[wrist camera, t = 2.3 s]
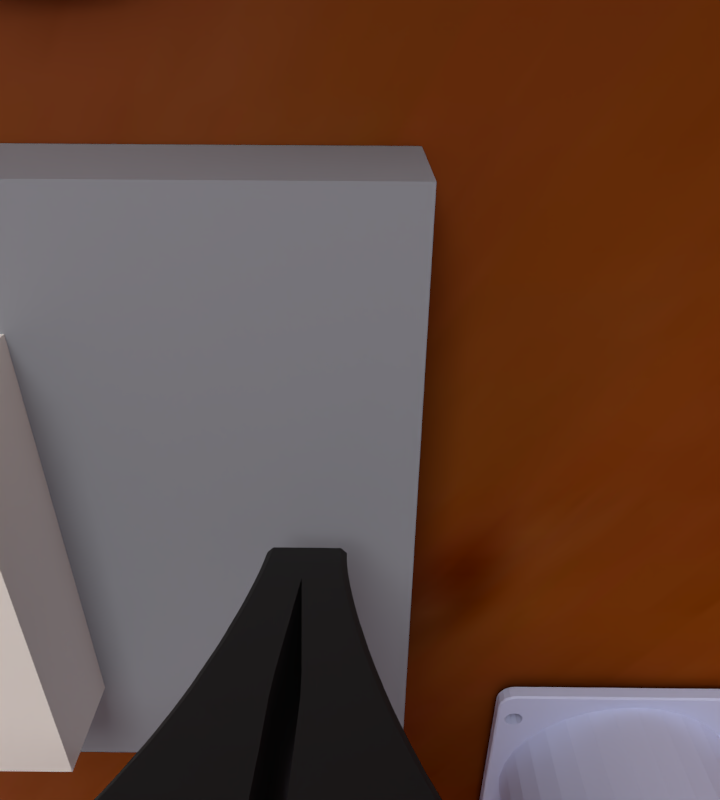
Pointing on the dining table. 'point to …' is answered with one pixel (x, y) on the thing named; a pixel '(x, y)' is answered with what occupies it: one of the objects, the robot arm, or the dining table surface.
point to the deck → (218, 386)
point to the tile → (37, 610)
